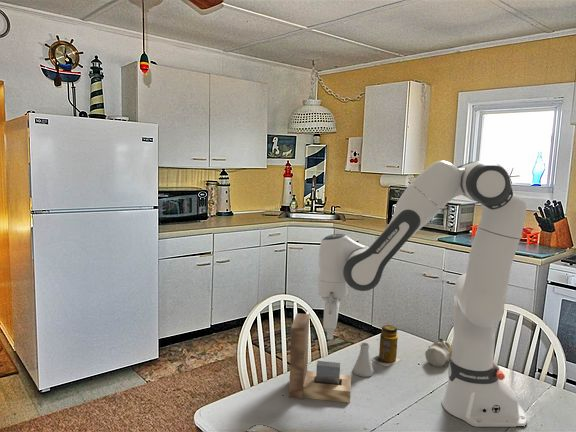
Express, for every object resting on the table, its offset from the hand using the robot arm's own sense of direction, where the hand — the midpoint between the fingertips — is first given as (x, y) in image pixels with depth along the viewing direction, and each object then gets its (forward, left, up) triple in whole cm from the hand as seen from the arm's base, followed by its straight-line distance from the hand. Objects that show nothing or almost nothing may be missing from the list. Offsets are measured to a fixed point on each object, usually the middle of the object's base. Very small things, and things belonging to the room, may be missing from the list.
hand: (331, 332), depth 139 cm
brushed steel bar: (0, 0, -19) cm, 19 cm away
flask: (-11, -15, -19) cm, 27 cm away
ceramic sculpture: (-38, -29, -19) cm, 52 cm away
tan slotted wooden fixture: (+2, 0, -19) cm, 19 cm away
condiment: (-19, -26, -19) cm, 37 cm away
